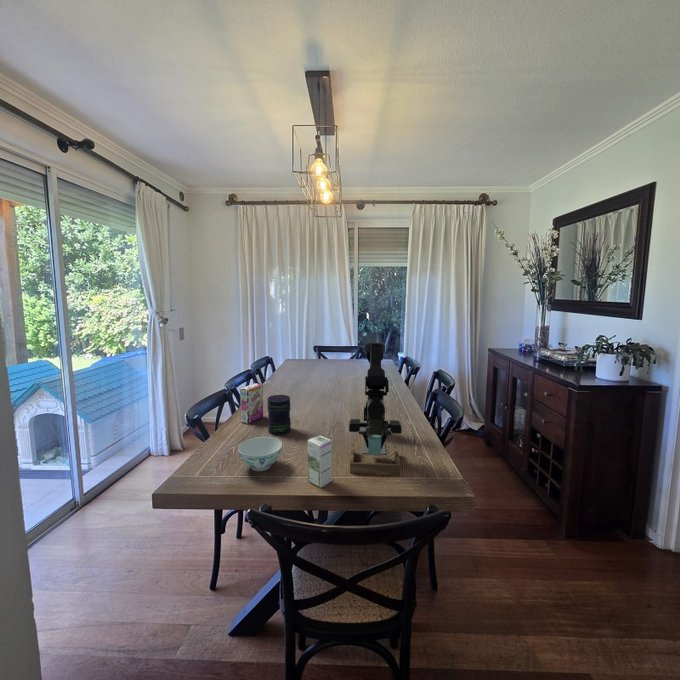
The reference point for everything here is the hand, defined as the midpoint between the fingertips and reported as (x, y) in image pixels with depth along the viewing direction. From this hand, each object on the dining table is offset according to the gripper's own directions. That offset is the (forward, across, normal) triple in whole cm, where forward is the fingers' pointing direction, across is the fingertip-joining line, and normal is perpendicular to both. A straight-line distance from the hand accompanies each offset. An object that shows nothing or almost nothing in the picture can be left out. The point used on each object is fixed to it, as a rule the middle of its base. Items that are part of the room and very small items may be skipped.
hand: (374, 448), depth 129 cm
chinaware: (+4, -40, -9) cm, 41 cm away
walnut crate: (+4, 0, -3) cm, 5 cm away
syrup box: (+4, -18, -17) cm, 25 cm away
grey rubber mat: (+4, 0, +8) cm, 9 cm away
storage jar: (+5, -41, +22) cm, 47 cm away
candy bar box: (+5, -57, +34) cm, 67 cm away
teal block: (+2, 0, 0) cm, 2 cm away
